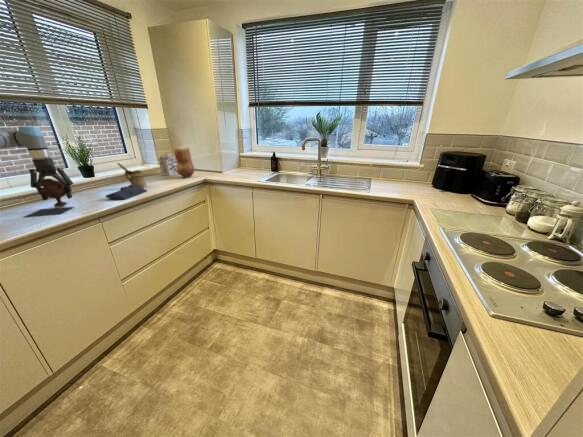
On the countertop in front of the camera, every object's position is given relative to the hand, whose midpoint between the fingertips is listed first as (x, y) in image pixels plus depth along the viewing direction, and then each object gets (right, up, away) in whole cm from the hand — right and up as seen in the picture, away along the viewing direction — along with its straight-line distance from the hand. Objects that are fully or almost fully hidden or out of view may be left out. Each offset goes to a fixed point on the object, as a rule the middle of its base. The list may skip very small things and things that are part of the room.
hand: (58, 198), depth 131 cm
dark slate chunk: (+23, +4, +21) cm, 32 cm away
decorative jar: (+23, +28, +80) cm, 88 cm away
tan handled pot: (+18, +11, +39) cm, 44 cm away
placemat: (+2, -8, -7) cm, 11 cm away
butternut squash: (+42, +24, +68) cm, 83 cm away
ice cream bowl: (0, -3, +1) cm, 4 cm away
